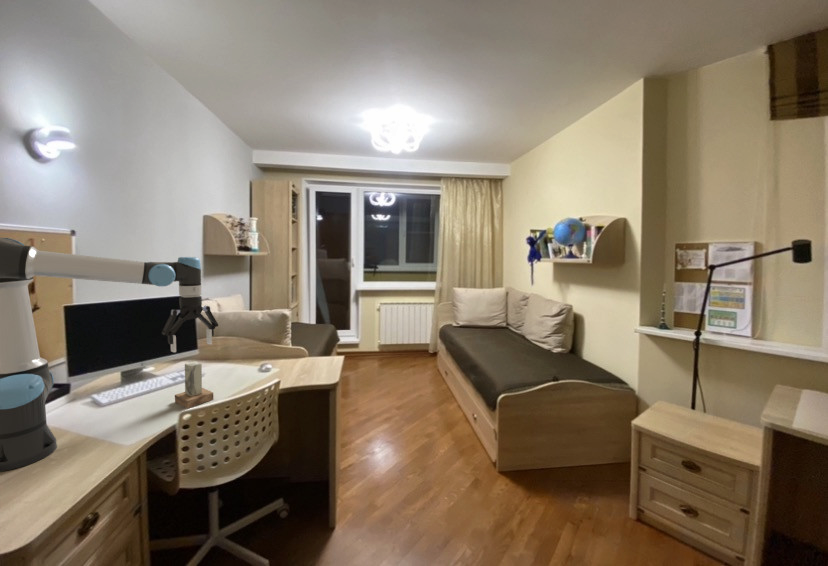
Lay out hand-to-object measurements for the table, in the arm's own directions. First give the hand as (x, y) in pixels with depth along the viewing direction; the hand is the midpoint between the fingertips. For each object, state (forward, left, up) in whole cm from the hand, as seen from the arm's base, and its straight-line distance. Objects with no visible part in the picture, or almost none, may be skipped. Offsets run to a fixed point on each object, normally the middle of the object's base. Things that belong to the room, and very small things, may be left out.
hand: (192, 347), depth 142 cm
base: (0, 0, -22) cm, 22 cm away
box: (0, 0, -20) cm, 20 cm away
